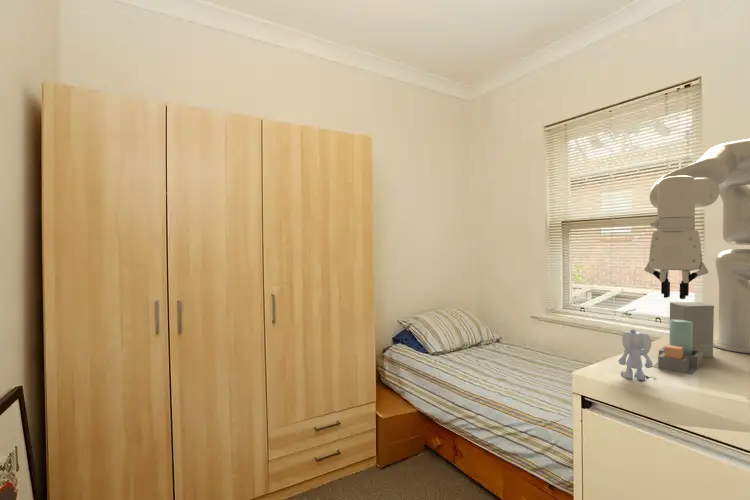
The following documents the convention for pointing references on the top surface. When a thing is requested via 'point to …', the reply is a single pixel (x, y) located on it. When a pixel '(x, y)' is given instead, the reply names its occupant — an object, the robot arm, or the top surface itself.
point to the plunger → (674, 352)
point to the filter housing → (680, 362)
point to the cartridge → (682, 335)
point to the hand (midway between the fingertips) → (674, 297)
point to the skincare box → (696, 323)
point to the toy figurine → (635, 353)
